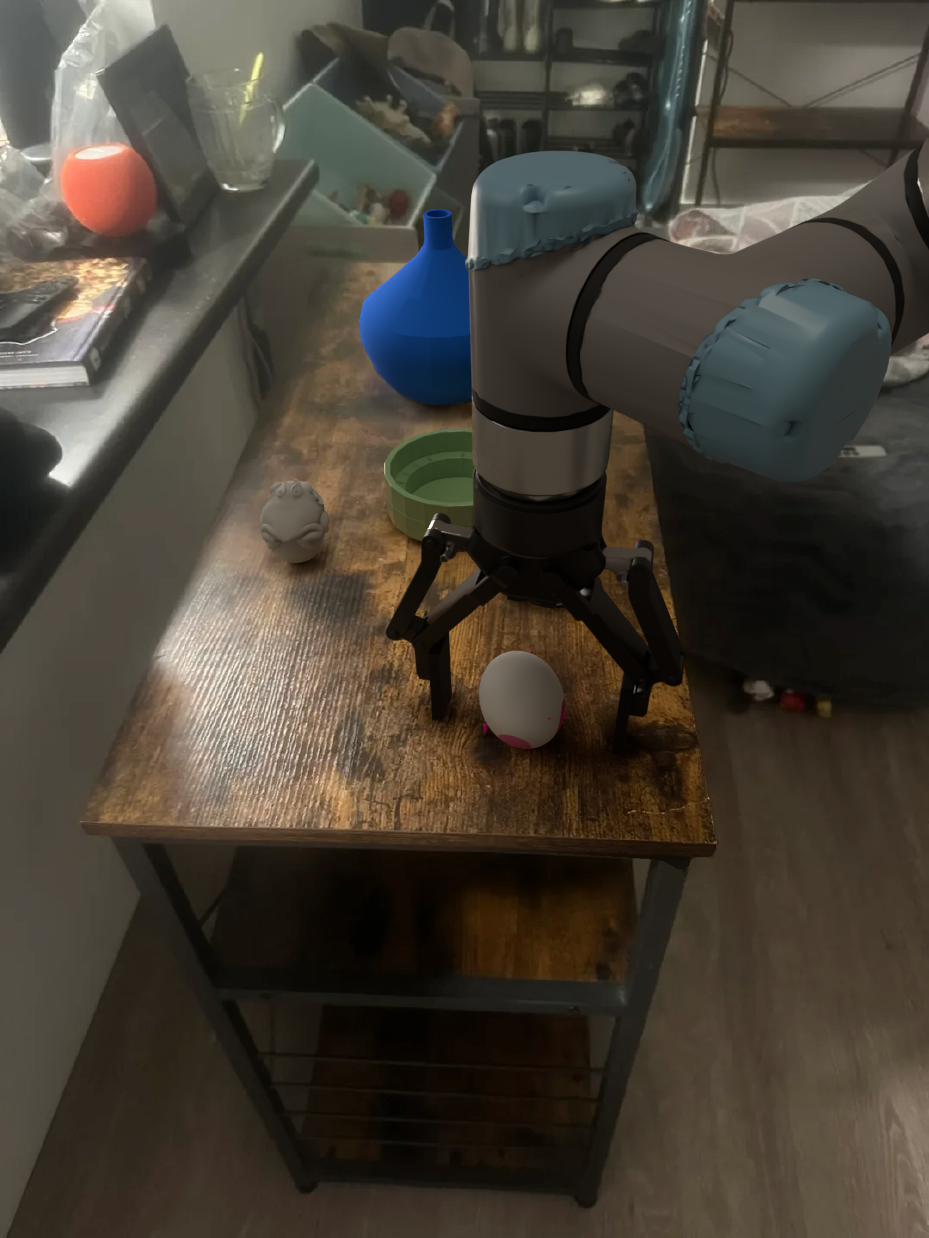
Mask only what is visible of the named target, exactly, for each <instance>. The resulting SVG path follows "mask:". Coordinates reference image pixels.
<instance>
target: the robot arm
mask: <svg viewBox="0 0 929 1238" xmlns="http://www.w3.org/2000/svg"><path fill="white" fill-rule="evenodd" d="M636 204H637V182H636V178H635V176H634V174H633V171H631V170H630V169H629V168H628V167H627V166H625V165H623V164H620V163H619V162H618V161H617V160H616V159H614V158H612V157H609V156H606V155H602V154H597V153H592V152H586V151H585V152H584V151H574V150H543V151H534V152H533V151H532V152H525V153H521V154H517V155H513V156H509V157H506V158H502V159H500V160H498V161H495V162H493V163H492V164H490V165H488V166H487V167H486V168H484V169H483V170H482V172H480V174H479V175H478V176H477V178H476V179H475V182H474V183H473V186H472V190H471V197H470V210H469V211H470V213H469V230H468V231H469V232H468V248H467V250H468V251H467V260H466V269H467V270H469V299H470V336H471V373H472V401H471V429H472V460H473V465H474V467H475V468H474V471H473V518H474V526H473V527H472V528H466V527H461V526H456V525H451V519H450V518H449V517H448V516H447V515H446V514H443V513H437V514H435V515H434V516H433V518H432V520H431V522H430V524H429V526H428V528H427V530H426V532H425V534H424V537H423V539H422V542H421V544H420V545H421V550H420V551H421V552H420V562H419V564H418V566H417V568H416V570H415V572H414V574H413V576H412V578H411V580H410V581H409V583H408V585H407V588H406V589H405V591H404V593H403V595H402V597H401V599H400V601H399V603H398V604H397V607H396V608H395V611H394V612H393V614H392V617H391V619H390V621H389V623H388V625H387V628H386V629H385V636H386V637H387V638H388V639H389V640H391V641H394V642H399V641H401V640H404V641H406V642H408V643H410V644H411V646H412V648H413V649H414V661H415V672H416V676H417V677H418V679H419V680H423V681H428V682H429V692H430V695H429V696H430V706H431V707H430V708H431V720H432V721H436V722H443V721H444V717H445V715H446V712H447V710H448V707H449V705H450V701H451V700H452V696H453V688H452V685H453V684H452V663H451V644H450V643H451V642H450V641H451V640H450V632H451V631H452V630H454V628H456V627H457V626H458V625H459V624H460V623H462V622H463V621H464V620H465V619H466V618H467V617H468V616H470V615H471V614H472V613H474V611H476V610H477V609H478V608H479V607H484V606H486V605H487V604H488V603H490V601H492V600H493V599H494V598H495V597H496V596H498V595H499V594H501V595H503V596H505V597H506V600H507V601H510V602H517V603H520V602H521V603H523V602H532V601H533V603H535V604H537V603H538V605H541V606H544V607H550V608H557V607H558V606H557V604H560V603H562V604H563V605H562V606H563V607H564V608H565V610H567V612H568V613H569V615H571V617H572V618H573V619H574V621H576V622H582V623H583V624H584V625H585V627H586V628H587V629H588V631H589V632H590V633H591V634H592V635H593V636H594V638H595V639H596V640H597V642H599V644H600V645H601V646H602V647H603V649H604V650H605V651H606V652H607V653H608V655H609V656H610V658H611V659H612V660H613V661H614V662H615V663H616V664H617V665H618V667H619V668H620V670H622V672H623V674H622V680H621V685H620V691H619V692H620V693H619V699H618V706H617V712H616V713H617V714H616V721H615V728H614V735H613V740H612V741H613V742H612V743H613V744H612V747H611V748H612V749H611V753H612V754H617V755H624V749H625V743H626V737H627V731H628V724H629V717H630V716H633V717H638V718H644V717H645V716H646V715H647V714H648V710H649V704H650V699H651V694H652V689H653V686H654V685H656V684H658V683H659V684H660V683H664V684H665V685H667V686H668V687H675V688H676V687H679V686H680V685H681V684H682V683H683V680H684V670H685V661H686V652H685V649H684V647H683V645H682V641H681V640H680V637H679V634H678V632H677V629H676V627H675V624H674V622H673V618H672V617H671V613H670V611H669V609H668V606H667V604H666V601H665V599H664V597H663V594H662V591H661V588H660V586H659V584H658V583H659V582H658V581H657V578H656V576H655V574H654V554H655V547H654V544H653V543H652V542H651V541H649V540H647V539H639V540H637V541H636V542H635V543H634V544H633V547H632V548H629V547H616V546H608V545H607V542H606V541H605V538H604V536H603V523H604V522H603V521H604V512H605V503H606V493H607V482H608V475H607V470H608V465H609V460H610V454H611V453H610V452H611V444H612V433H613V424H614V413H615V412H617V413H619V414H621V415H623V416H625V417H627V418H629V419H632V420H633V421H635V422H636V423H637V422H638V423H639V424H642V425H643V426H645V427H648V428H649V429H652V430H653V431H656V432H658V433H660V434H662V435H664V436H666V437H668V438H670V439H672V440H674V441H676V442H678V443H680V444H682V445H685V447H688V448H690V449H692V450H694V451H695V452H696V453H697V454H701V455H702V456H703V458H706V459H708V460H709V461H715V462H717V463H719V464H720V465H723V464H726V463H727V464H730V465H732V466H734V467H738V468H741V469H743V470H746V471H748V472H752V473H754V474H756V475H760V476H762V477H764V478H767V479H769V480H772V481H775V482H778V483H785V484H787V483H790V484H791V483H800V482H803V481H807V480H810V479H812V478H814V477H816V476H817V475H819V474H821V473H823V472H824V471H826V469H828V468H829V467H830V466H831V465H833V464H834V463H835V462H836V461H837V460H838V459H839V457H840V455H841V453H842V451H843V449H844V448H845V446H846V445H847V444H848V442H851V441H853V440H854V439H855V438H856V436H857V435H858V433H859V432H860V430H861V429H862V427H863V425H864V423H865V422H866V421H867V419H868V417H869V415H870V414H871V411H872V409H873V407H874V405H875V403H876V402H877V401H876V400H877V398H878V396H879V394H880V391H881V388H882V386H883V383H884V380H885V378H886V374H887V372H888V367H889V363H890V358H891V356H893V355H894V354H896V353H898V352H899V351H902V350H903V349H904V348H906V347H908V346H910V345H911V344H913V343H915V342H917V341H919V340H920V339H922V338H923V337H925V336H927V335H929V137H927V138H925V140H924V141H923V142H922V143H921V144H920V145H918V146H917V147H916V148H914V149H913V150H912V151H910V152H908V153H906V154H905V155H904V156H902V157H900V158H899V159H897V161H895V162H894V163H893V164H891V165H890V166H889V167H887V168H886V169H885V170H884V171H883V172H881V173H880V174H879V175H877V176H876V177H874V178H873V179H872V180H871V181H870V182H868V183H867V184H866V185H865V186H863V187H862V188H860V189H859V190H858V191H856V192H855V193H854V194H853V195H851V196H850V197H848V198H847V199H846V200H844V201H842V202H841V203H839V204H838V205H836V206H834V207H833V208H831V209H829V210H826V211H825V212H823V213H820V214H819V215H816V216H814V217H812V218H810V219H808V220H804V221H801V222H800V223H798V224H796V225H793V226H791V227H789V228H787V229H785V230H783V231H781V232H778V233H776V234H774V235H772V236H769V237H767V238H765V239H762V240H760V241H758V242H755V243H753V244H751V245H748V246H746V247H744V248H741V249H740V250H739V249H738V250H737V251H735V252H733V253H717V252H711V251H707V250H703V249H700V248H696V247H691V246H688V245H684V244H681V243H677V242H674V241H670V240H668V239H667V238H663V237H660V236H658V235H656V234H654V233H650V232H647V231H644V230H641V229H639V228H637V227H636V226H635V224H636V223H637V220H638V215H639V213H640V211H639V210H638V209H637V206H636ZM461 550H464V551H466V552H467V555H468V556H469V558H470V559H471V560H472V561H473V562H474V564H475V565H476V569H475V570H473V571H472V573H471V574H469V575H468V576H467V577H466V578H465V579H464V580H463V581H461V583H459V584H458V585H457V586H456V587H455V588H454V589H453V590H451V592H450V593H448V594H447V595H446V596H445V597H444V598H443V599H442V600H440V601H439V602H438V603H437V604H436V605H435V606H434V607H433V608H432V609H430V610H429V612H428V610H425V612H424V614H423V616H422V617H421V616H419V615H417V612H418V610H419V609H420V606H421V605H422V603H423V601H424V599H425V597H426V595H427V594H428V592H429V590H430V589H431V586H432V585H433V583H434V582H435V579H436V578H437V575H438V573H439V571H440V568H441V566H442V563H448V561H450V560H453V559H454V558H455V557H456V556H457V553H458V552H460V551H461ZM605 570H609V571H611V572H612V573H613V574H614V576H615V579H616V580H617V582H618V583H619V586H620V587H621V588H622V589H627V595H628V599H629V602H630V605H631V608H632V611H633V613H634V615H635V618H636V620H637V622H638V625H639V626H640V629H641V631H642V634H643V636H644V638H643V637H642V636H641V635H640V634H639V632H638V631H637V629H635V627H634V626H633V625H632V623H631V622H630V621H629V620H628V618H627V617H626V616H625V615H624V613H623V612H622V610H621V609H620V608H619V607H618V605H617V604H616V603H615V602H614V600H613V599H612V598H611V597H610V595H609V594H608V593H607V592H606V590H605V589H604V587H603V582H602V580H601V578H600V576H601V574H602V573H603V572H604V571H605ZM644 639H645V640H644Z"/></svg>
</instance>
